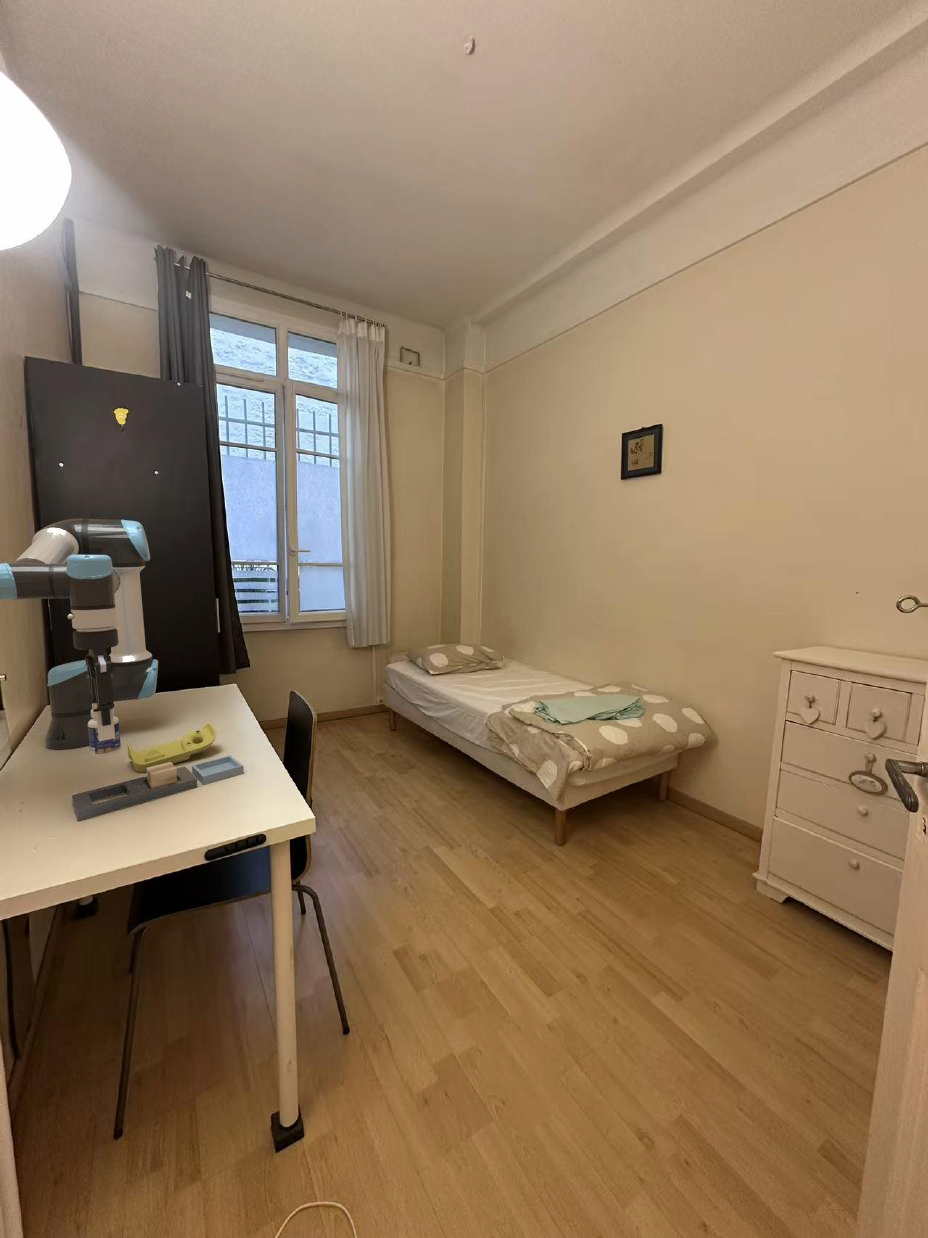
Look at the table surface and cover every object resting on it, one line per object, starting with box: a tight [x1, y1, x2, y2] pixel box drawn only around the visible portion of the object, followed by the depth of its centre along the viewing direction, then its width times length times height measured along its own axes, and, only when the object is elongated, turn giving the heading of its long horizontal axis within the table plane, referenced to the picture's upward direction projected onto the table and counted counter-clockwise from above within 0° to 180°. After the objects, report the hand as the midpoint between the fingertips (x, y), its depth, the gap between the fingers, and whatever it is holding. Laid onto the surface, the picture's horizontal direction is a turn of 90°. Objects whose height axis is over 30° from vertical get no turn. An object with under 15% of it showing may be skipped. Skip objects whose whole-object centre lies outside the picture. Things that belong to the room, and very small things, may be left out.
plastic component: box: [127, 722, 217, 773], centre depth 130 cm, size 20×7×10 cm
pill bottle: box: [88, 707, 122, 758], centre depth 104 cm, size 5×5×10 cm
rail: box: [71, 766, 198, 822], centre depth 109 cm, size 10×22×2 cm, turn 134°
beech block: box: [146, 762, 177, 789], centre depth 112 cm, size 5×5×5 cm
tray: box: [191, 754, 245, 786], centre depth 121 cm, size 9×9×2 cm
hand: (104, 735), depth 104 cm, fingers closed on pill bottle, 5 cm apart
